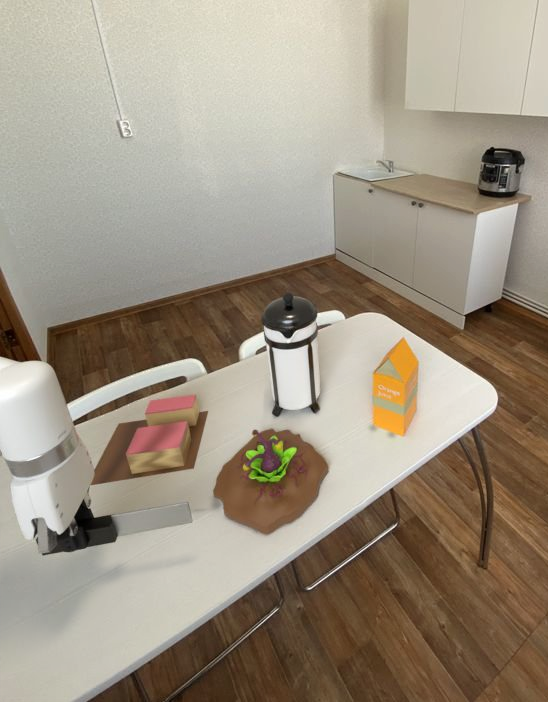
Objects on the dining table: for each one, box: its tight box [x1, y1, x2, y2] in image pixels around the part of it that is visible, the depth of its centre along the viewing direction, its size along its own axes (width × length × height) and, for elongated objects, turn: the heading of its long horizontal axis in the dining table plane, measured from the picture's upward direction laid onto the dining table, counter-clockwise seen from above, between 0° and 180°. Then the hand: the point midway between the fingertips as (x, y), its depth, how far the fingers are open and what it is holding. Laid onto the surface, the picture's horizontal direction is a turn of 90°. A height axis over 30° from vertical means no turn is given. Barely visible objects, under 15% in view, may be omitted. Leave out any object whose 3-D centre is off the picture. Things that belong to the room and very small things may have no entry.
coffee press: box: [260, 292, 321, 418], centre depth 93 cm, size 17×16×30 cm
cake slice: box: [144, 393, 201, 427], centre depth 88 cm, size 10×4×6 cm, turn 100°
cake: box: [90, 410, 209, 486], centre depth 83 cm, size 20×16×6 cm
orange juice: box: [372, 336, 420, 437], centre depth 87 cm, size 8×9×20 cm
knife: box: [35, 501, 193, 556], centre depth 59 cm, size 21×2×4 cm, turn 101°
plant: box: [212, 428, 329, 536], centre depth 74 cm, size 20×20×11 cm
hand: (80, 538), depth 58 cm, fingers closed on knife, 2 cm apart
